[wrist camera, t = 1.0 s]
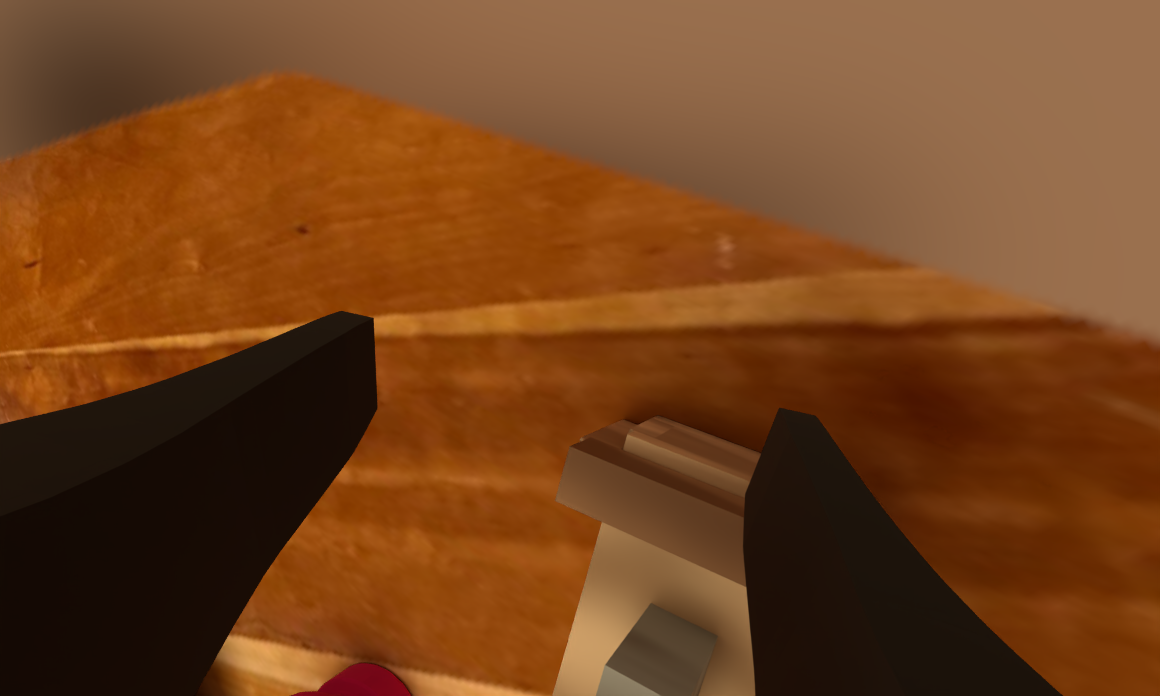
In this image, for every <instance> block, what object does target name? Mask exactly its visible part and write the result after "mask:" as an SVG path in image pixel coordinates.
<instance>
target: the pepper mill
mask: <svg viewBox="0 0 1160 696" xmlns="http://www.w3.org/2000/svg"><path fill="white" fill-rule="evenodd" d="M291 696H411V694H410V693H409V691H408V690H407V688H406V687H405V686H404V684H403V683H402V682H401V681H400V680H399V679H397V678H396V677H395V676H394V675H393V674H392V673H391V672H390V671H388V670H386V669H384V668H382V667H380V666H378V665H373V664H368V663H359V664H355V665H352V666H350V667H348V668H347V669H345V670H344V671H342V672H341V673H339V674H338V675H336V676H335V677H333V678H332V679H330V680H329V681H327V682H326V683H324V684H323V685H322V686H321V687H320V689H319V690H318V691H312V692H300V693H297V694H294V695H291Z"/></svg>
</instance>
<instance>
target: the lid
mask: <svg viewBox="0 0 1160 696" xmlns="http://www.w3.org/2000/svg"><path fill="white" fill-rule="evenodd" d="M623 450H625V451H627V452H630V453H632V454H635V455H637V456H640V457H642V458H645V459H647V460H650V461H652V462H655V463H657V464H660V465H662V466H665V467H667V468H670V469H672V470H675V471H677V472H680V473H682V474H685V475H687V476H690V477H692V478H695V479H698V480H700V481H703V482H705V483H708V484H710V485H713V486H715V487H718V488H720V489H723V490H725V491H728V492H730V493H733V494H735V495H738V496H740V497H743V498H745V493H746V490H747V488H748V485H749V483H750V480H751V478H752V475H749V474H747V473H744V472H742V471H739V470H736V469H734V468H731V467H728V466H726V465H723V464H721V463H718V462H715V461H713V460H710V459H708V458H705V457H702V456H700V455H697V454H694V453H692V452H689V451H687V450H684V449H681V448H679V447H676V446H674V445H671V444H668V443H666V442H663V441H660V440H658V439H655V438H653V437H650V436H647V435H645V434H642V433H640V432H637V431H633V432H631V433H629V434H627V437H626V441H625V444H624V448H623ZM553 696H755V680H754V666H753V655H752V644H751V634H750V623H749V612H748V601H747V591H746V587H745V586H742V585H740V584H738V583H736V582H734V581H731V580H729V579H727V578H725V577H722V576H720V575H718V574H716V573H714V572H711V571H709V570H707V569H705V568H703V567H700V566H698V565H696V564H694V563H692V562H689V561H687V560H685V559H683V558H680V557H678V556H676V555H674V554H672V553H669V552H667V551H665V550H663V549H661V548H658V547H656V546H654V545H652V544H649V543H647V542H645V541H643V540H641V539H638V538H636V537H634V536H632V535H630V534H627V533H625V532H623V531H621V530H618V529H616V528H614V527H612V526H610V525H607V524H605V523H603V522H602V525H601V528H600V532H599V535H598V539H597V542H596V546H595V549H594V552H593V556H592V559H591V563H590V566H589V570H588V573H587V577H586V580H585V584H584V587H583V591H582V594H581V598H580V601H579V605H578V608H577V612H576V615H575V619H574V622H573V626H572V629H571V633H570V636H569V640H568V643H567V647H566V650H565V654H564V657H563V661H562V664H561V668H560V671H559V675H558V678H557V682H556V685H555V689H554V692H553Z"/></svg>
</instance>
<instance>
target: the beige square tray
mask: <svg viewBox="0 0 1160 696" xmlns="http://www.w3.org/2000/svg"><path fill="white" fill-rule="evenodd" d="M633 431H637V432H640V433H642V434H645V435H647V436H650V437H653V438H655V439H658V440H660V441H663V442H666V443H668V444H671V445H674V446H676V447H679V448H681V449H684V450H687V451H689V452H692V453H694V454H697V455H700V456H702V457H705V458H708V459H710V460H713V461H715V462H718V463H721V464H723V465H726V466H728V467H731V468H734V469H736V470H739V471H742V472H744V473H747V474H749V475H753V473H754V470H755V468H756V465H757V463H758V460H759V458H760V455H761V453H759V452H757V451H754V450H751V449H749V448H746V447H743V446H740V445H738V444H735V443H732V442H729V441H727V440H724V439H721V438H719V437H716V436H713V435H710V434H708V433H705V432H702V431H699V430H697V429H694V428H691V427H689V426H686V425H683V424H680V423H678V422H675V421H672V420H669V419H667V418H664V417H661V416H659V415H657V416H655V417H653V418H651V419H649V420H647V421H645V422H643V423H641V424H639V425H637V424H634V423H631V422H629V421H626V420H624V419H623V420H621V421H619V422H616V423H614V424H612V425H609V426H607V427H605V428H602V429H600V430H598V431H595V432H593V433H591V434H588V435H586V436H584V437H582V438H581V439H580V442H581V441H583V440H585V439H588V438H590V437H592V438H595V439H597V440H600V441H602V442H605V443H607V444H610V445H612V446H615V447H617V448H620V449H622V450H623V448H624V444H625V441H626V437H627V434H629V433H631V432H633Z"/></svg>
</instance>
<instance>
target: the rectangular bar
mask: <svg viewBox="0 0 1160 696" xmlns="http://www.w3.org/2000/svg"><path fill="white" fill-rule="evenodd" d="M555 501H557V502H559V503H561V504H563V505H565V506H568V507H570V508H572V509H574V510H576V511H579V512H581V513H583V514H585V515H588V516H590V517H592V518H594V519H596V520H599V521H601V522H603V523H605V524H607V525H610V526H612V527H614V528H616V529H618V530H621V531H623V532H625V533H627V534H630V535H632V536H634V537H636V538H638V539H641V540H643V541H645V542H647V543H649V544H652V545H654V546H656V547H658V548H661V549H663V550H665V551H667V552H669V553H672V554H674V555H676V556H678V557H680V558H683V559H685V560H687V561H689V562H692V563H694V564H696V565H698V566H700V567H703V568H705V569H707V570H709V571H711V572H714V573H716V574H718V575H720V576H722V577H725V578H727V579H729V580H731V581H734V582H736V583H738V584H740V585H742V586H745V587H746V579H745V567H744V555H743V526H744V505H745V498H743V497H740V496H738V495H735V494H733V493H730V492H728V491H725V490H723V489H720V488H718V487H715V486H713V485H710V484H708V483H705V482H703V481H700V480H698V479H695V478H692V477H690V476H687V475H685V474H682V473H680V472H677V471H675V470H672V469H670V468H667V467H665V466H662V465H660V464H657V463H655V462H652V461H650V460H647V459H645V458H642V457H640V456H637V455H635V454H632V453H630V452H627V451H625V450H622V449H620V448H617V447H615V446H612V445H610V444H607V443H605V442H602V441H600V440H597V439H595V438H592V437H590V438H588V439H585V440H583V441H581V442H579V443H576V444H574V445H572V446H570V447H569V451H568V455H567V458H566V462H565V466H564V469H563V473H562V477H561V481H560V484H559V488H558V492H557V495H556V499H555Z"/></svg>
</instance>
